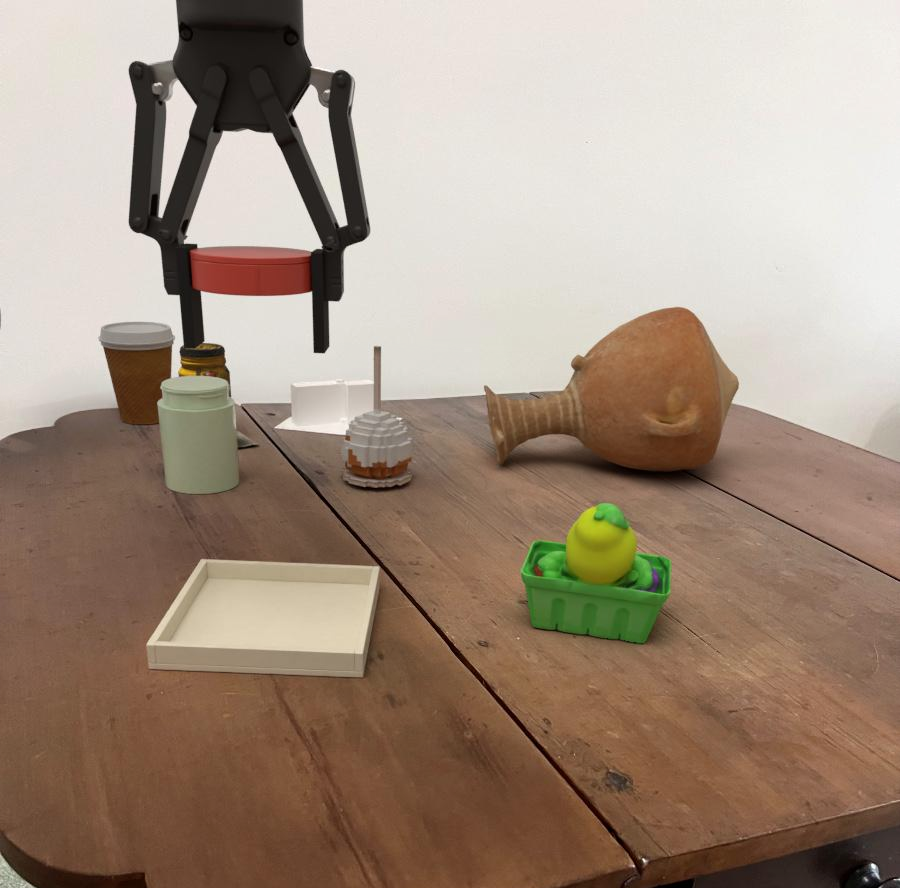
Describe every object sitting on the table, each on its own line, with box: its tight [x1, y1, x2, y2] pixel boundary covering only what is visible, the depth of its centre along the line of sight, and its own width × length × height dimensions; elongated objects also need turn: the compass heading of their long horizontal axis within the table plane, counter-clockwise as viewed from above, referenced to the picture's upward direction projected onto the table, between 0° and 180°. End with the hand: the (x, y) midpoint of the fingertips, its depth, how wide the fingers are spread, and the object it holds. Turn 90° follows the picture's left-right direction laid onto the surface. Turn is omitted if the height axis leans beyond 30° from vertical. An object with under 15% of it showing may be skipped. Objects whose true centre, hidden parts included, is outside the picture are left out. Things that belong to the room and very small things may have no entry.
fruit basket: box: [520, 502, 672, 644], centre depth 71 cm, size 11×9×11 cm
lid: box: [190, 245, 312, 297], centre depth 62 cm, size 8×8×2 cm
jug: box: [483, 306, 740, 473], centre depth 109 cm, size 20×19×30 cm
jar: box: [157, 376, 241, 495], centre depth 99 cm, size 8×8×11 cm
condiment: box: [178, 342, 260, 448], centre depth 112 cm, size 7×8×12 cm
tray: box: [145, 558, 381, 678], centre depth 71 cm, size 15×15×2 cm
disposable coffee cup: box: [97, 321, 176, 425], centre depth 121 cm, size 10×10×12 cm
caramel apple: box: [340, 345, 414, 489], centre depth 101 cm, size 8×8×15 cm
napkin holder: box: [273, 378, 403, 436], centre depth 125 cm, size 15×11×6 cm
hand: (258, 346), depth 64 cm, fingers closed on lid, 8 cm apart
